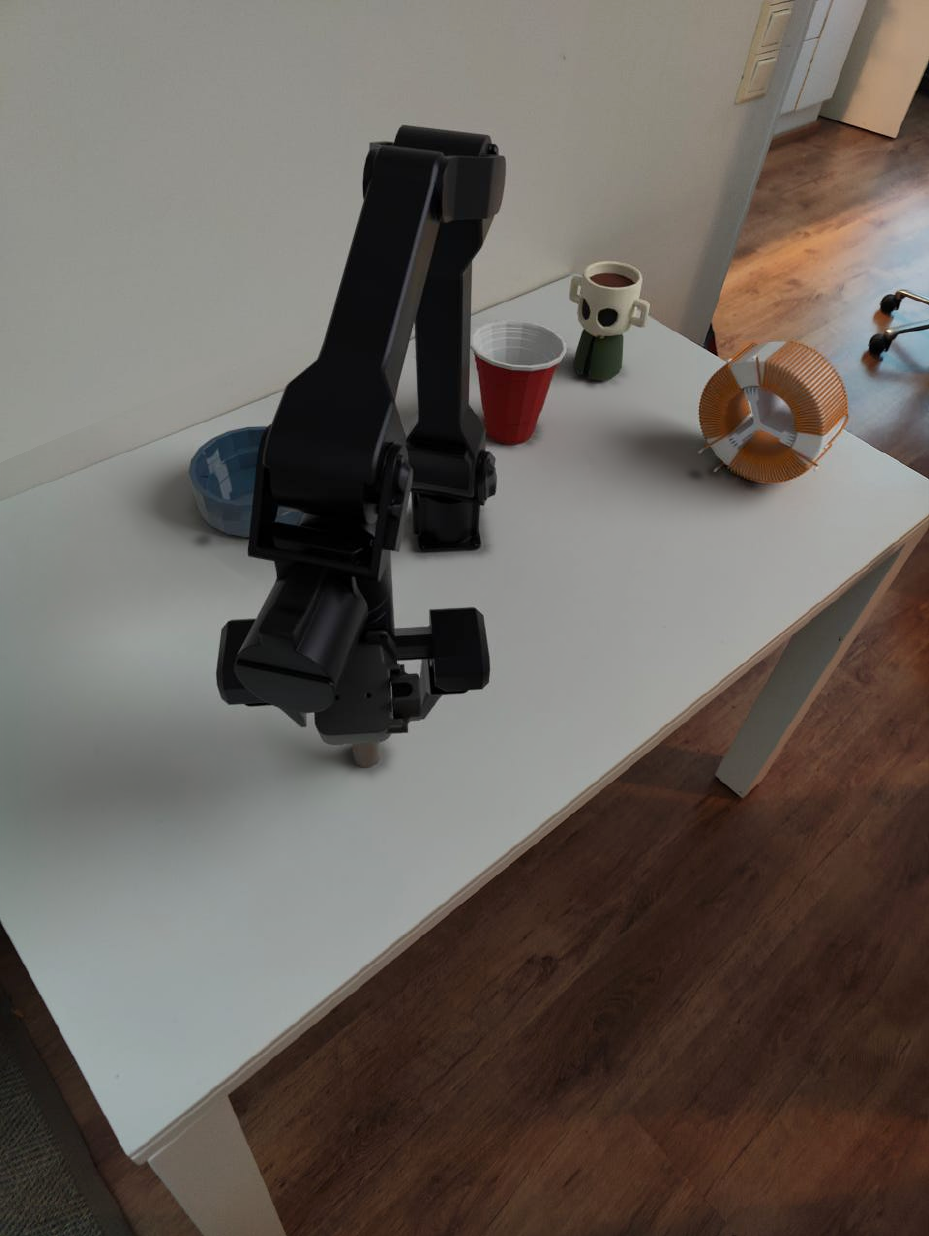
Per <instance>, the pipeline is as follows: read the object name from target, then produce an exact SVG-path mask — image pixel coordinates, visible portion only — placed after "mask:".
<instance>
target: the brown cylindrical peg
mask: <svg viewBox="0 0 929 1236" xmlns="http://www.w3.org/2000/svg"><path fill="white" fill-rule="evenodd" d="M351 746H352V753H353V759H354V762H355V764H356V765H357V766H359V767H362V768H372V767H373V766H375V765H376V764H378V763H379V761H380V759H381V751H380V750H381V748H380V747H381V746H380V742H379V743H356V744H351Z"/></svg>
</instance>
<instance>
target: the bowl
mask: <svg viewBox="0 0 929 1236" xmlns="http://www.w3.org/2000/svg"><path fill="white" fill-rule="evenodd" d="M267 427H268V425H267V426H266V425H261V426H260V425H259V426H256V425H255V426H245V427H240V428H236V429H231V430H228V431H227V430H226V431H225V432H223V433H221V434H219V435H216V436H214V437H212V438H210V439H209V440H208V441H207V442H205V443H203V445H201V446H199V448H198V449H197V451H196V452H195V453H194V454H193V456H192V458H190V463H189V468H188V476H189V479H190V483H191V486H192V490H193V494H194V497H195V501H196V504H197V507H198V510H199V513H200V516H201V517H202V518H203V520H205V522H207V523H208V525H210V526H211V527H212V528H214V529H216V530H218V531H220V532H222V533H225V534H227V535H231V536H233V535H234V536H236V537H237V536H238V537H243V538H249V533H250V523H251V514H252V504H253V494H254V484H255V475H256V465H257V455H258V449H259V444H260V441H261V437H262V435H263V433H264V431H265V429H266V428H267ZM303 515H304V513H301V512H296V511H291V510H285V509H282V508H280V507H278V512H277V516H276V520H275V522H281V523H287V524H292V525H297V523H298V522H299V521H300V519H301V518H302V517H303Z"/></svg>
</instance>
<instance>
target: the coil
mask: <svg viewBox="0 0 929 1236" xmlns="http://www.w3.org/2000/svg"><path fill="white" fill-rule="evenodd" d="M725 362H726V363H725V364H724V365H723V366H721V367H720V368H718V370H717V371H716V372H715V373H713V374H712V376H710V378H709V379H708V381H707V382H706V384H705V385H704V388H703V390H702V392H701V394H700V398H699V403H698V404H699V405H698V419H699V420H698V422H699V426H700V430H701V431H700V432H701V434H702V437H703V440H705V441H706V440H707V445H705V446H703V447H702V448H701V449H699V451H698V454H701V453H702V452H703V451H704V450H706V449H708V448H709V447H710V448H711V449H712V450H713V451H712V452H714V454H715V456H717V457H718V458H719V459H720V460H721V461H722V462H721V464H719V465H718V466H717V467H716V468H715V469H714V470H713V472H714V473H716V472H717V471H719V470H720V469H721V468H722V467H723V466H724V465H726V466H727V467H726V468H727V470H729V471H730V472H733V474H736V476H739V477H740V478H742V477H743V479H747V480H748V481H751V482H754V483H756V482H757V483H761V484H770V485H771V484H779V483H780V484H782V483H786V482H790V481H793V480H795V479H797V478H800V477H801V476H803V475H804V474H806V473H807V472H808V471H810V470H811V469H812V468H813V467H814V466H815V467H814V469H813V472H816V471H817V470H818V469H819V467H820V465H819V464H818V461H820V459H822V458H823V456H824V455H826V453H827V452H828V451H830V449H831V448H832V447H833V443H834V441H835V440H836V439H837V437H838V436H839V435H840V434H841V432H842V431H843V430H844V428H845V427H846V425H847V424H848V423H849V419H850V415H849V413H848V412H849V411H848V410H849V407H848V405H849V402H848V401H849V399H848V395H847V390H846V387H845V383H843V379H842V377H841V375H839V374H840V373H839V372H837V369H836V368H835V365H832V362H831V361H829V359H826V356H823V354H822V353H820V351H818V350H817V351H816V349H815V348H813V347H812V346H809V345H808V344H805V343H801V342H800V341H798V342H797V341H796V340H792V339H790V340H789V341H767V342H764V343H760V344H758V343H757V342H756V341H751V342H749V343H748V344H745V345H744V346H743V347H742V348H740V349H739V350H738V351H737V352H736V353H734V354H733V355H731V357H730V358H728V359H727V360H726V361H725ZM751 414H752V416H751ZM845 416H846V418H845Z"/></svg>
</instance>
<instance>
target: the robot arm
mask: <svg viewBox="0 0 929 1236" xmlns="http://www.w3.org/2000/svg"><path fill="white" fill-rule="evenodd" d="M368 144H369V146H368V151H367V155H366V157H365V159H364V167H363V170H362V171H363V172H362V182H361V183H362V199H363V201H362V205H361V209H360V212H359V215H358V219H357V223H356V227H355V230H354V233H353V237H352V241H351V244H350V247H349V250H348V251H349V252H348V255H347V258H346V261H345V264H344V265H345V266H344V267H343V268H344V269H343V272H342V275H341V279H340V283H339V286H338V289H337V290H338V291H337V293H336V297H335V300H334V303H333V308H332V311H331V315H330V318H329V321H328V325H327V329H326V332H325V335H324V339H323V343H322V345H321V348H320V351H319V354H318V356H317V358H316V360H314V361H313V362H312V363H311V364H310V365H308V366H307V367H305V369H303V370H302V371H301V372H300V373H299V374H298V375H296V376H295V377H294V378H293V379H291V381H289V382H288V383H287V384H286V386H285V388H284V390H283V393H282V396H281V397H280V400H279V403H278V406H277V407H276V408H277V409H276V411H275V414H274V415H273V419H272V421H271V423H269V425H267V428H266V429H265V431H264V433H263V435H262V437H261V441H260V444H259V449H258V455H257V465H256V475H255V484H254V494H253V504H252V514H251V523H250V533H249V537H248V544H247V546H248V547H247V557H249V558H254V559H259V560H265V561H270V562H273V564H274V568H275V573H276V574H275V575H276V579H275V582H274V583H273V586H272V587H271V589H270V592H269V594H268V595H267V597H266V599H265V601H264V603H263V605H262V607H261V609H260V610H259V612H258V614H257V616H256V618H239V619H237V618H236V619H230V620H228V621H227V622H226V623H225V624H224V625H223V627H222V628H221V629H220V630H221V631H220V638H219V647H218V653H217V654H218V655H217V661H216V662H217V663H216V670H215V678H216V687H217V690H218V693H219V696H220V699H221V700H222V701H223V702H225V703H226V705H228V706H233V705H244V706H246V707H249V708H253V707H254V708H255V707H269V706H271V707H276V708H278V709H280V710H281V711H282V712H283V713H284V714H285V715H287V716H288V718H290V719H291V720H292V721H293V722H294V723H296V724H297V725H298V726H299V727H300V728H306V727H307V723H308V715H307V714H313V715H314V725H315V728H316V730H317V732H318V734H319V737H320V739H321V741H322V742H324V743H325V744H327V745H329V746H343V745H352V744H356V743H379V744H380V743H383V742H386V741H387V740H388V739H389V738H390V737H391V735H395V734H408V733H409V723H411V722H420V721H421V720H422V721H423V720H425V719H426V718H427V716H428V715H429V713H430V712H431V711H432V709H433V708H434V707H435V705H436V704H437V702H438V701H439V700H440V698H442V696H448V695H449V696H451V695H464V694H466V693H468V692H469V691H481V690H483V689H484V688H485V687H486V686H487V685H488V684H489V683H490V677H491V676H490V675H491V657H490V651H489V643H488V637H487V631H486V630H487V629H486V624H485V616H484V614H483V613H482V612H481V611H479V610H478V609H477V608H476V607H475V606H470V607H451V608H450V607H449V608H433V609H432V608H430V609H428V622H429V625H428V626H415V627H413V626H412V627H397V628H396V627H395V611H394V609H395V608H394V593H393V591H394V590H393V578H392V576H393V575H392V560H391V559H392V558H391V552H398V553H399V552H400V549H401V544H402V540H403V539H402V538H403V535H404V528H405V523H406V517H407V512H408V506H409V501H411V502H410V505H411V526H412V534H413V535H414V536H416V538H417V547H418V551H420V552H422V553H423V552H443V551H445V552H446V551H464V550H465V551H466V550H479V549H480V548H481V547H482V540H481V535H480V513H481V506H483V507H485V505H486V502H487V500H488V499H489V498H491V497H494V496H496V493H497V484H498V475H497V467H496V460H497V458H496V457H495V455H494V454H493V453H492V452H491V451H488V450H486V445H487V443H486V441H487V440H486V434H487V432H486V429H485V423H483V422H482V420H481V419H480V418H479V416H478V415H477V414H476V412H475V410H473V408H472V407H471V405H470V376H471V375H470V374H471V368H470V367H471V346H470V337H471V333H472V330H471V329H472V294H473V293H472V290H473V289H472V288H473V260H474V259H475V258H476V256H477V255H478V253H479V252H480V251H481V249H482V247H483V245H484V243H485V240H486V238H487V236H488V233H489V231H490V229H491V226H492V223H493V222H494V221H493V220H494V219H495V216H496V215H498V214H499V213H500V210H501V207H502V203H503V198H504V194H505V185H506V178H507V177H506V176H507V160H506V157H505V156H504V155H501V154H500V153H499V146H498V145H497V144H496V143H492V138H491V135H489V134H482V133H475V132H468V131H467V132H466V131H460V130H459V131H458V130H450V129H441V128H435V127H425V126H417V125H409V124H401V126H400V127H398V130H397V132H396V134H395V138H394V141H389V140H388V141H387V140H384V141H372V142H369V143H368ZM413 330H414V342H415V343H414V344H415V345H414V346H415V369H416V370H415V371H416V396H417V397H416V398H417V399H416V400H417V411H416V412H415V413H414V415H413V417H412V420H411V422H410V425H409V427H408V429H407V431H405V428H404V425H403V423H402V419H401V416H400V413H399V410H398V407H397V405H396V399H397V395H398V389H399V384H400V379H401V376H402V372H403V367H404V365H405V360H406V356H407V353H408V349H409V344H410V340H411V337H412V333H413ZM410 496H411V497H410ZM410 498H411V499H410ZM278 507H280V508H282V509H285V510H291V511H296V512H301V513H304V515H303V517H302V518H301V519H300V521H299V522H298V523H297V525H292V524H287V523H281V522H275V520H276V516H277V512H278ZM417 660H418V661H419V660H420V661H421V664H420V673H419V674H418V673H414V672H413V673H408V672H406V670H405V668H406V667H405V663H398V662H400V661H417Z"/></svg>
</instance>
